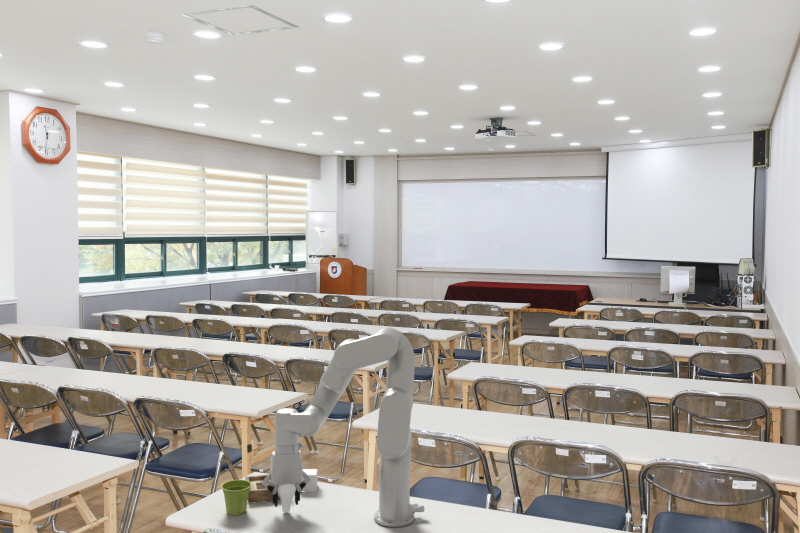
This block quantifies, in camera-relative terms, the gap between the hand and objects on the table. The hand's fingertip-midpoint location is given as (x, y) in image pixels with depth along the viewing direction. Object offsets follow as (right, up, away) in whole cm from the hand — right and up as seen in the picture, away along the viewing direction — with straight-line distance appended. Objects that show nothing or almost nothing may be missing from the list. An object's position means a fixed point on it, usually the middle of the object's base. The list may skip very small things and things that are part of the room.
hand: (286, 503), depth 215 cm
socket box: (-9, -2, +16) cm, 19 cm away
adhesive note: (+4, -2, +21) cm, 22 cm away
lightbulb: (0, -3, 0) cm, 3 cm away
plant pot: (-16, -3, +1) cm, 16 cm away
